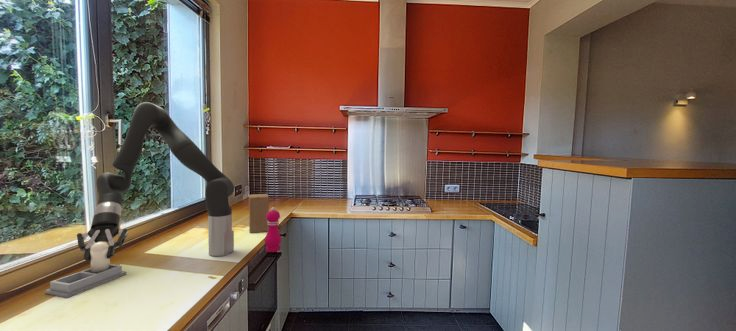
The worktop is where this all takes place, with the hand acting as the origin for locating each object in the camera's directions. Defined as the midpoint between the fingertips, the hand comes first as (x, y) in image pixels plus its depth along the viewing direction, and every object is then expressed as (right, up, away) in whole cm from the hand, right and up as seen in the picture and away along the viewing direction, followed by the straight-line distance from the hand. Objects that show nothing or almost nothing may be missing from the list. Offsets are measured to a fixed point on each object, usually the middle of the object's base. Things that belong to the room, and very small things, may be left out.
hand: (98, 258), depth 96 cm
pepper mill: (+49, -7, +33) cm, 60 cm away
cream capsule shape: (-1, -5, +2) cm, 5 cm away
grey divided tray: (-2, -8, -2) cm, 8 cm away
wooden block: (+31, -5, +64) cm, 71 cm away
